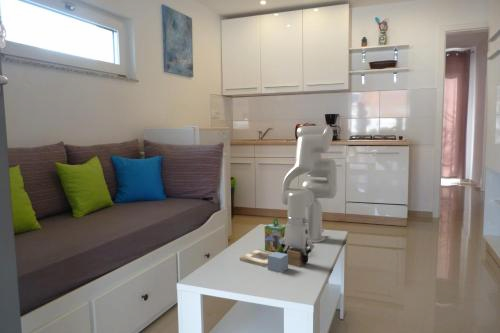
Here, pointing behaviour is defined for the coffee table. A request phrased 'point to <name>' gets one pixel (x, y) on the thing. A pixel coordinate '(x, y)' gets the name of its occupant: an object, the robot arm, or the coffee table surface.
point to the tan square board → (257, 257)
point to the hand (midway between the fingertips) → (296, 261)
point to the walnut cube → (295, 257)
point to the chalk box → (274, 236)
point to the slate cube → (278, 262)
